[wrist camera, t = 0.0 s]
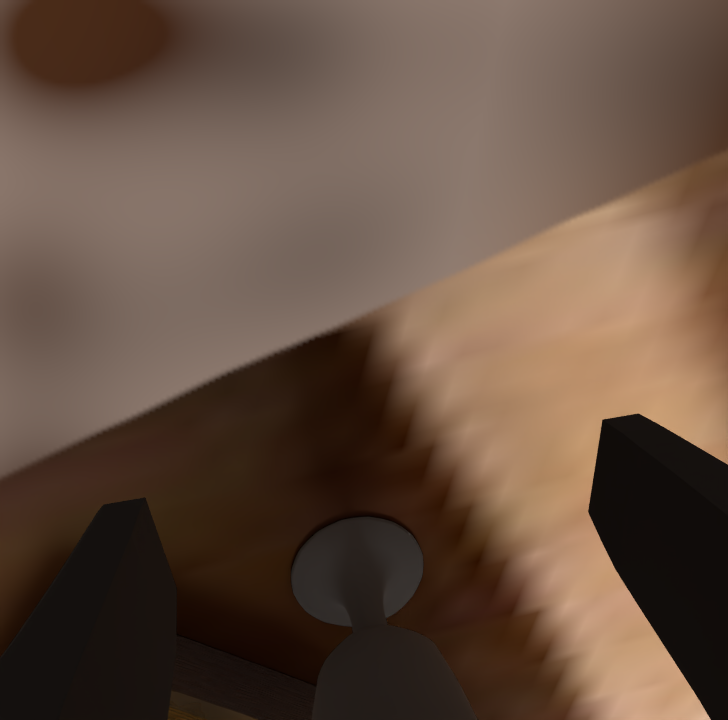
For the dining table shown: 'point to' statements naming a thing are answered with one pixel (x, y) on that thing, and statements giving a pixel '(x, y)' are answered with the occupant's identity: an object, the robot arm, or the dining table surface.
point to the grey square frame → (233, 688)
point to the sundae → (373, 626)
